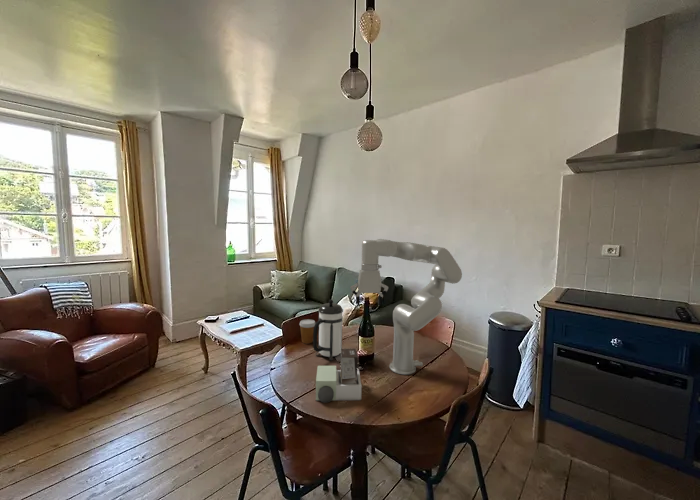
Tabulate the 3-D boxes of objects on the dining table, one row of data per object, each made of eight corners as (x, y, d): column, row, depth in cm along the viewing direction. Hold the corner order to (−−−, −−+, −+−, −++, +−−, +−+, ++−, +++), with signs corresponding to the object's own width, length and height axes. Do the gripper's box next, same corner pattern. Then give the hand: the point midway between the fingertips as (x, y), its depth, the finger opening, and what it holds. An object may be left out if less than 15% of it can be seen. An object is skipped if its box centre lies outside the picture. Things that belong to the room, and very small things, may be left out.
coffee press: (314, 349, 170) (315, 296, 167) (343, 349, 171) (344, 296, 168) (312, 363, 153) (313, 304, 150) (344, 363, 154) (346, 304, 151)
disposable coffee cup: (314, 345, 176) (314, 324, 175) (297, 344, 176) (298, 324, 175) (316, 338, 186) (316, 319, 185) (300, 338, 186) (300, 318, 185)
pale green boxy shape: (358, 381, 137) (358, 364, 136) (361, 402, 121) (362, 383, 120) (317, 381, 136) (317, 364, 135) (315, 402, 120) (315, 383, 119)
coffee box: (357, 396, 123) (358, 357, 122) (341, 396, 123) (341, 357, 122) (354, 384, 133) (355, 348, 131) (339, 384, 132) (340, 348, 131)
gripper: (387, 266, 142) (386, 302, 144) (350, 266, 141) (349, 302, 143) (390, 269, 135) (389, 307, 137) (351, 268, 134) (350, 307, 135)
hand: (369, 304), depth 140 cm, fingers open, 9 cm apart
